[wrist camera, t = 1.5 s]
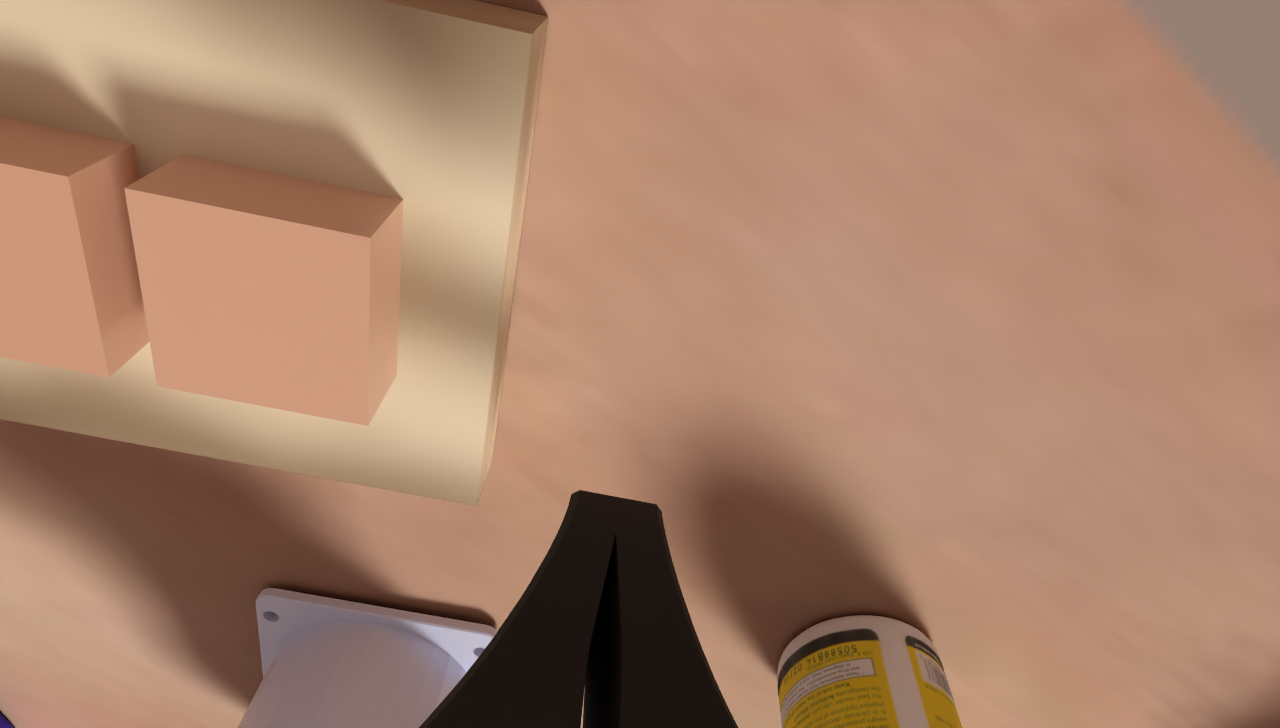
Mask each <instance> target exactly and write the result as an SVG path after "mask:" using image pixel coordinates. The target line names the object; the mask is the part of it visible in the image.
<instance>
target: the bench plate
mask: <svg viewBox="0 0 1280 728" xmlns="http://www.w3.org/2000/svg"><path fill="white" fill-rule="evenodd" d="M547 24H548V16H544V15H539V14H535V13H530V12H526V11H522V10H517V9H513V8H508V7H504V6H499V5H495V4H490V3H486V2H481V1H477V0H0V116H1V117H6V118H11V119H16V120H21V121H25V122H30V123H35V124H40V125H45V126H50V127H55V128H59V129H64V130H69V131H74V132H79V133H84V134H89V135H93V136H98V137H103V138H108V139H113V140H118V141H123V142H127V143H132V144H134V150H135V157H136V163H137V170H138V176H139V179H141V178H143V177H144V176H146V175H148V174H150V173H151V172H153V171H155V170H157V169H158V168H160V167H162V166H163V165H165V164H167V163H169V162H170V161H172V160H174V159H176V158H177V157H179V156H181V155H183V154H186V155H190V156H195V157H200V158H205V159H210V160H215V161H220V162H224V163H229V164H234V165H239V166H244V167H249V168H254V169H258V170H263V171H268V172H273V173H278V174H283V175H288V176H292V177H297V178H302V179H307V180H312V181H317V182H322V183H326V184H331V185H336V186H341V187H346V188H351V189H356V190H360V191H365V192H370V193H375V194H380V195H385V196H390V197H394V198H399V199H403V220H402V247H401V274H400V302H399V329H398V356H397V376H396V378H395V379H394V381H393V383H392V385H391V386H390V388H389V390H388V392H387V393H386V395H385V397H384V399H383V401H382V402H381V404H380V406H379V408H378V409H377V411H376V413H375V415H374V416H373V418H372V420H371V422H370V423H369V425H368V426H366V425H360V424H355V423H350V422H344V421H339V420H334V419H328V418H323V417H318V416H312V415H307V414H302V413H296V412H291V411H286V410H280V409H275V408H270V407H264V406H259V405H254V404H248V403H243V402H238V401H232V400H227V399H222V398H216V397H211V396H205V395H200V394H195V393H189V392H184V391H179V390H173V389H168V388H163V387H157V383H156V377H155V371H154V365H153V358H152V352H151V346H150V342H149V343H148V344H146V345H145V346H144V347H143V348H142V349H141V350H140V351H139V352H137V353H136V354H135V355H134V356H133V357H132V358H131V359H130V360H128V361H127V362H126V363H125V364H124V365H123V366H122V367H121V368H119V369H118V370H117V371H116V372H115V373H114V374H113V375H112V376H110V377H104V376H99V375H93V374H88V373H83V372H77V371H72V370H67V369H61V368H56V367H51V366H45V365H40V364H35V363H29V362H24V361H19V360H13V359H8V358H3V357H0V419H1V420H7V421H12V422H18V423H23V424H29V425H34V426H40V427H45V428H51V429H56V430H62V431H67V432H73V433H78V434H84V435H89V436H95V437H100V438H106V439H111V440H117V441H122V442H128V443H133V444H138V445H144V446H149V447H155V448H160V449H166V450H171V451H177V452H182V453H188V454H193V455H199V456H204V457H210V458H215V459H221V460H226V461H232V462H237V463H243V464H248V465H254V466H259V467H265V468H270V469H276V470H281V471H286V472H292V473H297V474H303V475H308V476H314V477H319V478H325V479H330V480H336V481H341V482H347V483H352V484H358V485H363V486H369V487H374V488H380V489H385V490H391V491H396V492H402V493H407V494H413V495H418V496H424V497H429V498H434V499H440V500H445V501H451V502H456V503H462V504H467V505H473V506H477V505H478V502H479V499H480V496H481V493H482V490H483V487H484V484H485V481H486V478H487V474H488V471H489V468H490V465H491V462H492V459H493V453H494V445H495V437H496V429H497V421H498V413H499V405H500V397H501V389H502V381H503V373H504V365H505V357H506V350H507V342H508V334H509V326H510V318H511V310H512V302H513V294H514V286H515V278H516V270H517V262H518V254H519V246H520V238H521V230H522V222H523V214H524V207H525V199H526V191H527V183H528V175H529V167H530V159H531V151H532V143H533V135H534V127H535V119H536V111H537V103H538V95H539V87H540V79H541V71H542V64H543V56H544V48H545V40H546V32H547Z"/></svg>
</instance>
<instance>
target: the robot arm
mask: <svg viewBox="0 0 1280 728" xmlns="http://www.w3.org/2000/svg"><path fill="white" fill-rule="evenodd" d="M256 613H257V623H258V633H259V643H260V653H261V663H262V673H263V680H262V682H261V684H260V686H259V688H258V690H257V692H256V694H255V695H254V697H253V699H252V701H251V703H250V705H249V707H248V709H247V711H246V713H245V715H244V717H243V718H242V720H241V722H240V724H239V726H238V728H580V726H581V716H582V706H583V697H584V713H583V728H738V726H737V724H736V722H735V720H734V718H733V716H732V714H731V712H730V711H729V708H728V706H727V704H726V702H725V700H724V698H723V696H722V694H721V691H720V689H719V687H718V685H717V683H716V680H715V678H714V676H713V674H712V671H711V669H710V666H709V664H708V662H707V659H706V657H705V654H704V652H703V650H702V647H701V645H700V642H699V639H698V637H697V634H696V632H695V629H694V626H693V624H692V621H691V618H690V615H689V612H688V609H687V606H686V604H685V601H684V598H683V595H682V592H681V589H680V586H679V583H678V579H677V576H676V573H675V569H674V565H673V562H672V558H671V555H670V551H669V547H668V543H667V539H666V534H665V529H664V524H663V518H662V511H661V510H660V509H659V507H658V506H657V505H656V504H651V503H646V502H641V501H635V500H630V499H624V498H619V497H614V496H608V495H603V494H598V493H592V492H587V491H581V490H579V491H577V492H575V493H573V494H571V498H570V502H569V506H568V509H567V512H566V514H565V517H564V520H563V522H562V524H561V527H560V529H559V531H558V533H557V535H556V537H555V539H554V541H553V543H552V545H551V547H550V549H549V551H548V553H547V555H546V556H545V558H544V560H543V562H542V563H541V565H540V567H539V568H538V570H537V572H536V574H535V575H534V577H533V579H532V580H531V582H530V584H529V586H528V587H527V589H526V590H525V592H524V594H523V595H522V597H521V598H520V600H519V601H518V603H517V604H516V605H515V607H514V608H513V610H512V611H511V613H510V614H509V616H508V617H507V619H506V620H505V622H504V623H503V624H502V626H501V627H500V629H499V630H498V631H497V630H496V629H495V628H493V627H492V626H489V625H485V624H479V623H473V622H468V621H462V620H456V619H450V618H444V617H439V616H433V615H427V614H421V613H416V612H410V611H404V610H398V609H392V608H387V607H381V606H375V605H369V604H364V603H358V602H352V601H346V600H340V599H335V598H329V597H323V596H317V595H311V594H306V593H300V592H294V591H288V590H283V589H277V588H267V589H263V590H262V591H261V592H260V594H259V595H258V597H257V599H256ZM584 687H585V693H584Z"/></svg>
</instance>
